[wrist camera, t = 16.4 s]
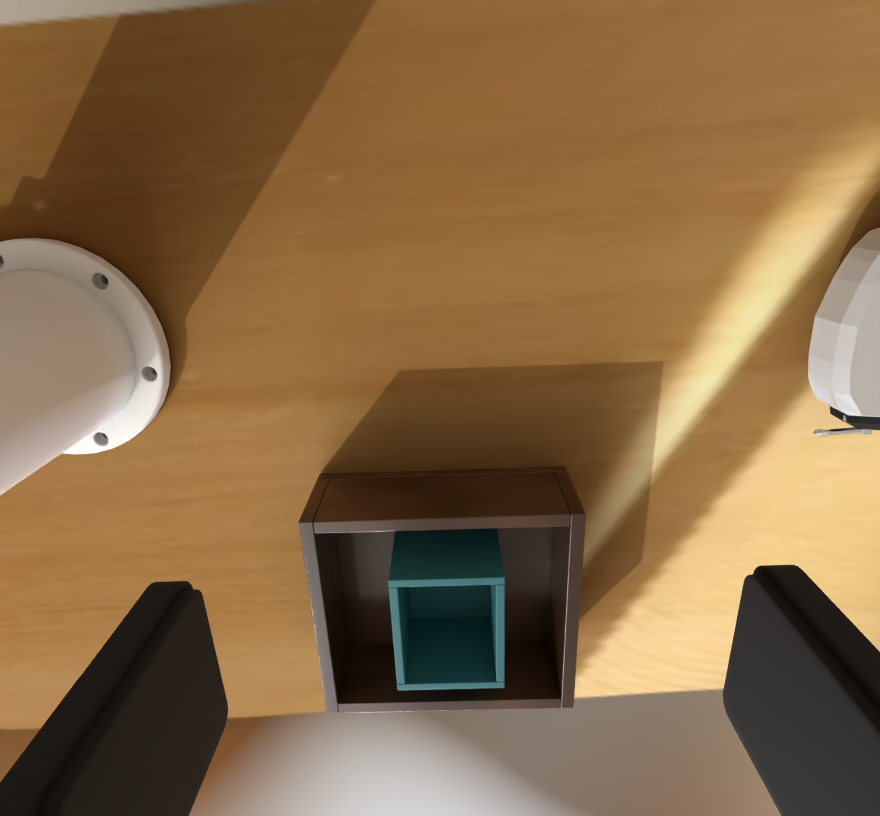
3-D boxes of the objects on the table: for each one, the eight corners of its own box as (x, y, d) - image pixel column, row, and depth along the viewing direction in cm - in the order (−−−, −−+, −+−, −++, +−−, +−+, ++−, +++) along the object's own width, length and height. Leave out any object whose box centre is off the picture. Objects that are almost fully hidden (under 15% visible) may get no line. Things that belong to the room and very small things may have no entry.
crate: (341, 647, 41) (326, 713, 36) (319, 473, 36) (298, 522, 31) (557, 641, 41) (573, 708, 35) (565, 466, 36) (586, 513, 30)
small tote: (496, 617, 39) (504, 688, 34) (404, 619, 39) (397, 690, 34) (495, 517, 36) (505, 577, 31) (396, 520, 36) (387, 580, 31)
